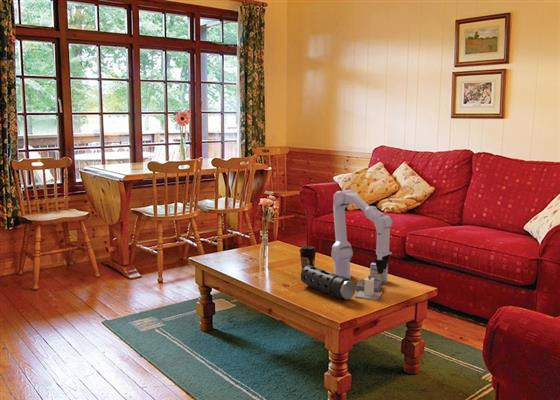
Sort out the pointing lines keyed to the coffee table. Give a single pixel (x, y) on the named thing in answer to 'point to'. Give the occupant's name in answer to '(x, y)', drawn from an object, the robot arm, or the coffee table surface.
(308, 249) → the coffee cup
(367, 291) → the plug
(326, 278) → the muzzle brake
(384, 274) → the medicine box
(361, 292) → the rubber pad
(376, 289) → the socket block
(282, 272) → the coffee table surface
